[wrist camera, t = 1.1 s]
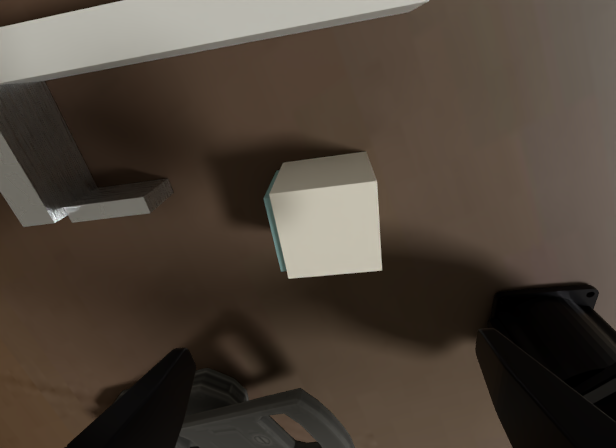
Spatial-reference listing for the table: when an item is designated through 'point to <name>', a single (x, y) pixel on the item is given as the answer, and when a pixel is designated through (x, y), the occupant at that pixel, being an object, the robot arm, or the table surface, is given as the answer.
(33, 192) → the cleat
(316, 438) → the zipper pull
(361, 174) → the cream matte cube
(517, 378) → the robot arm
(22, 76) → the wall board
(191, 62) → the table surface
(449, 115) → the table surface
